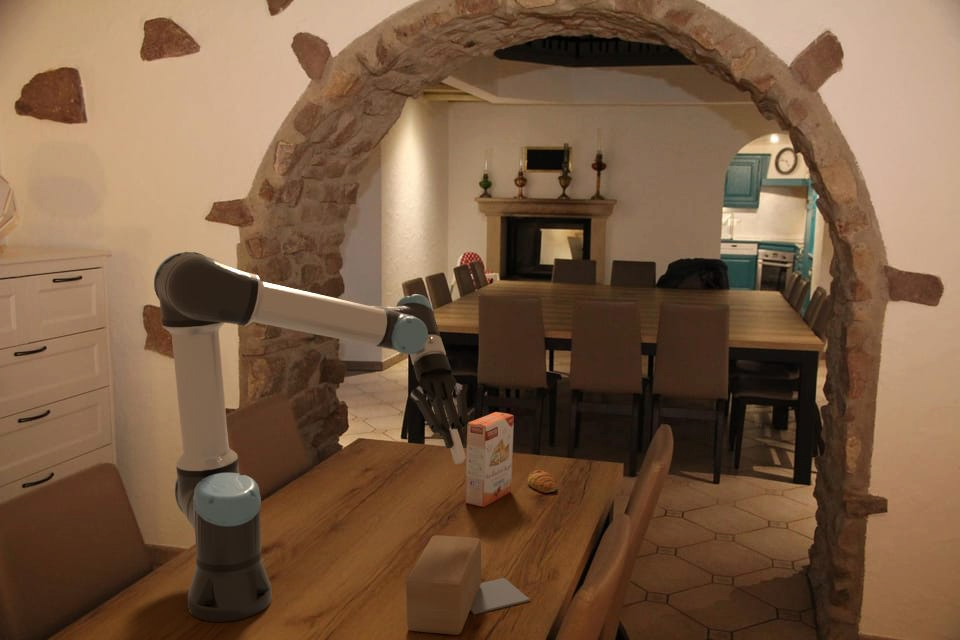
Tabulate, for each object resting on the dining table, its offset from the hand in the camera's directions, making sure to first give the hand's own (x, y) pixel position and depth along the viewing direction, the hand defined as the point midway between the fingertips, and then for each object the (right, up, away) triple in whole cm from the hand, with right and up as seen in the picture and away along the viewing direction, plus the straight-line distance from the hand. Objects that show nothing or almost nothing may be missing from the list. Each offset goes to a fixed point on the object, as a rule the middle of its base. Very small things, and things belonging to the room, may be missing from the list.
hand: (460, 461), depth 171 cm
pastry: (+21, -16, +54) cm, 60 cm away
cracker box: (+6, -17, +45) cm, 49 cm away
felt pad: (+6, -25, -7) cm, 26 cm away
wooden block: (-1, -19, -3) cm, 19 cm away
